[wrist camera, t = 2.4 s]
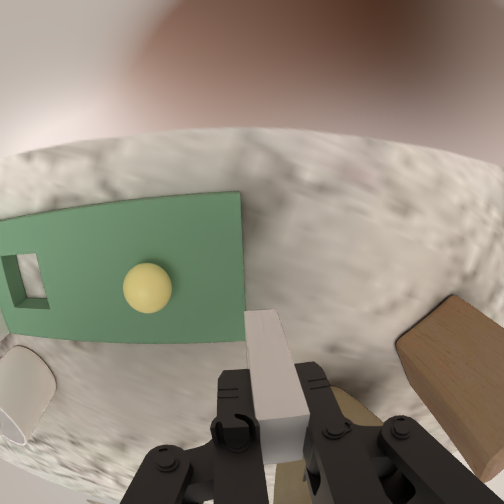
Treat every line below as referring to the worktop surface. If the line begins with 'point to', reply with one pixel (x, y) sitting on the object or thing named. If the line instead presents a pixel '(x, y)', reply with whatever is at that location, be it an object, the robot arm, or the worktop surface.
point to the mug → (23, 393)
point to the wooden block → (461, 380)
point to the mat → (121, 262)
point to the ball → (147, 288)
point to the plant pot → (291, 473)
